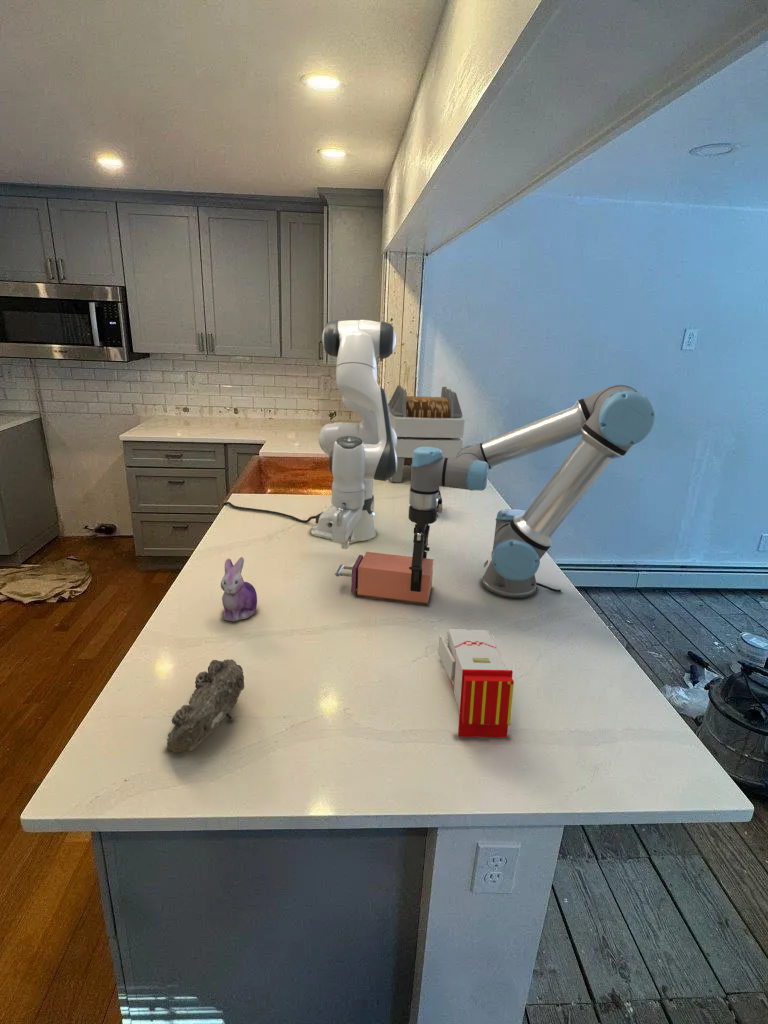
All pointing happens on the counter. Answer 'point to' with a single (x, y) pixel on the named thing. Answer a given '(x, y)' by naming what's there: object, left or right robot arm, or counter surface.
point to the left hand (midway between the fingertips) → (346, 545)
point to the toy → (478, 682)
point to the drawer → (354, 573)
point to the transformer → (425, 425)
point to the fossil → (206, 705)
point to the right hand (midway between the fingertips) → (418, 581)
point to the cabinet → (392, 578)
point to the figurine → (237, 593)
